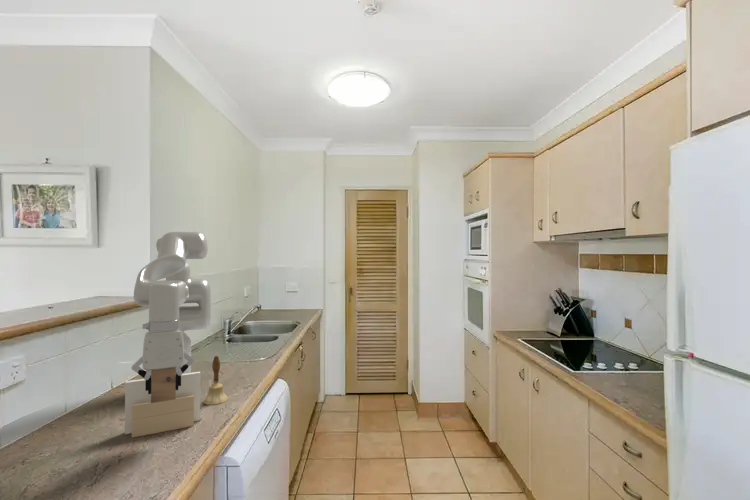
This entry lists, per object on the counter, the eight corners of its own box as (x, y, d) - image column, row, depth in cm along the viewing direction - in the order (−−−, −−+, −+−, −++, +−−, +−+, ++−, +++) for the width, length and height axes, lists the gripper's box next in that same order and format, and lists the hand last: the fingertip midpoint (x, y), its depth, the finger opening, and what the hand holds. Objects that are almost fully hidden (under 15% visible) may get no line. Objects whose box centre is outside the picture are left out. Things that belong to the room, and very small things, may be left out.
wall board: (125, 432, 112) (125, 381, 113) (199, 418, 122) (200, 371, 122) (123, 439, 108) (124, 386, 108) (200, 424, 118) (201, 375, 118)
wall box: (152, 394, 111) (152, 359, 112) (175, 390, 114) (175, 357, 114) (150, 404, 104) (151, 367, 104) (175, 400, 107) (175, 364, 107)
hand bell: (233, 397, 140) (233, 354, 140) (216, 406, 132) (217, 360, 132) (214, 395, 142) (215, 352, 142) (197, 403, 134) (198, 357, 135)
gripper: (126, 331, 100) (125, 400, 100) (198, 326, 108) (198, 389, 108) (129, 327, 107) (128, 391, 106) (197, 322, 115) (196, 382, 115)
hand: (163, 390), depth 107 cm, fingers closed on wall box, 6 cm apart
